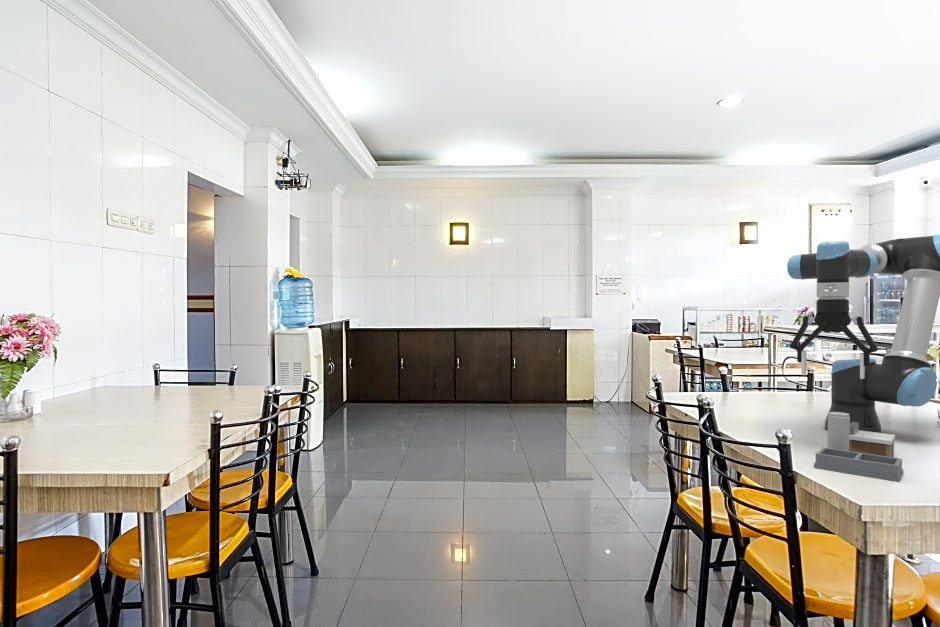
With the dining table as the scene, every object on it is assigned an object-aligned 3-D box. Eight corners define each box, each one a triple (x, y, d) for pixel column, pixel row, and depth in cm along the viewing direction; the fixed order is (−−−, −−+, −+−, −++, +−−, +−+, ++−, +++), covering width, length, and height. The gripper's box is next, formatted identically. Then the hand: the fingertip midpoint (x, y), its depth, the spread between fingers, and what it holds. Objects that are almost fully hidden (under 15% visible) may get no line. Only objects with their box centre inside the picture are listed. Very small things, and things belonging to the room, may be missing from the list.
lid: (853, 433, 159) (853, 421, 159) (895, 438, 153) (895, 425, 153) (847, 439, 152) (847, 426, 152) (890, 444, 146) (891, 431, 146)
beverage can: (823, 458, 152) (823, 412, 151) (835, 456, 154) (835, 411, 153) (841, 462, 147) (841, 415, 147) (853, 460, 149) (854, 414, 149)
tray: (853, 450, 159) (853, 434, 159) (893, 456, 153) (894, 439, 153) (847, 457, 152) (848, 440, 152) (889, 463, 147) (889, 445, 146)
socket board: (821, 460, 149) (821, 447, 149) (903, 473, 138) (903, 458, 138) (813, 467, 142) (814, 453, 142) (899, 481, 131) (899, 466, 131)
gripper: (778, 299, 162) (778, 374, 163) (887, 298, 146) (887, 381, 147) (784, 299, 168) (784, 371, 169) (890, 298, 152) (889, 378, 153)
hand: (832, 376), depth 158 cm, fingers open, 13 cm apart
